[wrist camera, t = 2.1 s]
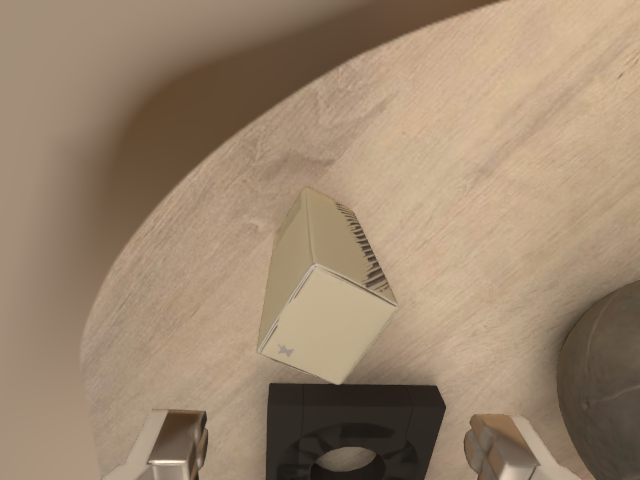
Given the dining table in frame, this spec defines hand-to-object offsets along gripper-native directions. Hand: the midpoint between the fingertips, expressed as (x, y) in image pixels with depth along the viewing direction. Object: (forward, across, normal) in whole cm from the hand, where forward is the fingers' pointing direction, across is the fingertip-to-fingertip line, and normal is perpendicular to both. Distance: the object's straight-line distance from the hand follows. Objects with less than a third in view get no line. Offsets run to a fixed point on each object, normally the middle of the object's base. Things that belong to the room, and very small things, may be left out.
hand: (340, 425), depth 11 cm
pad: (+17, -5, +25) cm, 31 cm away
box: (+17, 0, 0) cm, 17 cm away
